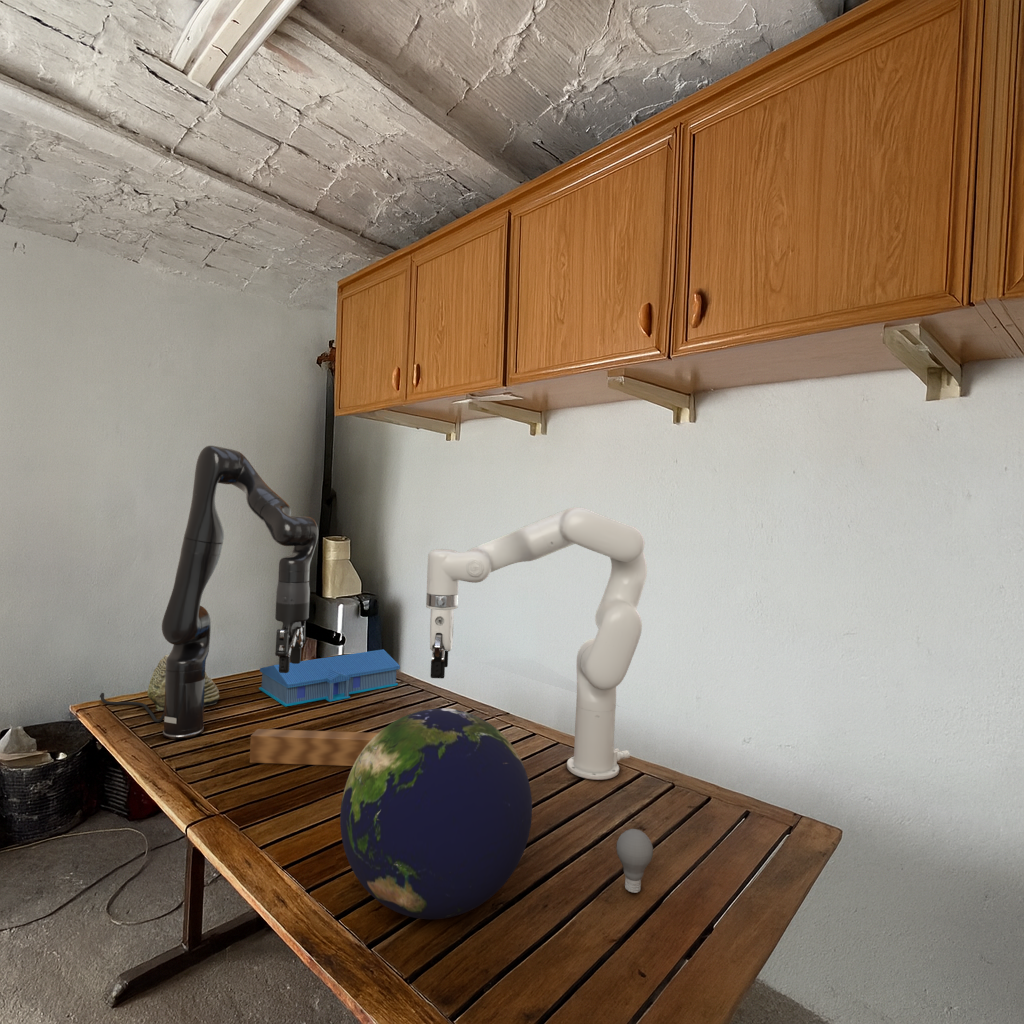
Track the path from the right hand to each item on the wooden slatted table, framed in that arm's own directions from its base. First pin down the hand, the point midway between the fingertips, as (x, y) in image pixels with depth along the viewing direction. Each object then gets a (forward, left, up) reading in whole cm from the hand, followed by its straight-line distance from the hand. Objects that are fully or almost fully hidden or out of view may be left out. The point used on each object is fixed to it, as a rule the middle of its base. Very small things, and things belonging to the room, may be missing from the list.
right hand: (439, 672), depth 152 cm
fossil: (+56, -63, -22) cm, 87 cm away
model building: (+13, -68, -22) cm, 73 cm away
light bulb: (-15, +59, -22) cm, 64 cm away
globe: (+17, +49, -22) cm, 56 cm away
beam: (+16, -7, -22) cm, 29 cm away
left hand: (+32, -14, 0) cm, 36 cm away
